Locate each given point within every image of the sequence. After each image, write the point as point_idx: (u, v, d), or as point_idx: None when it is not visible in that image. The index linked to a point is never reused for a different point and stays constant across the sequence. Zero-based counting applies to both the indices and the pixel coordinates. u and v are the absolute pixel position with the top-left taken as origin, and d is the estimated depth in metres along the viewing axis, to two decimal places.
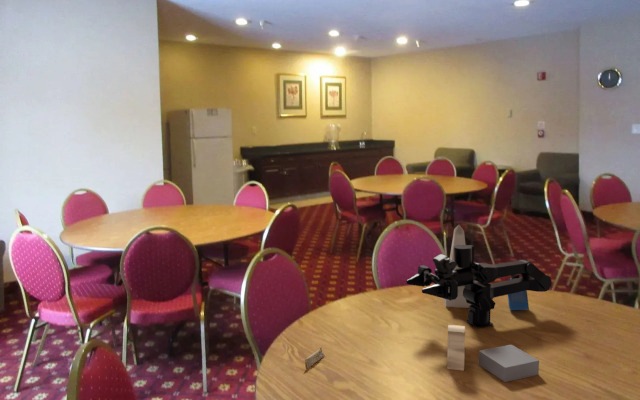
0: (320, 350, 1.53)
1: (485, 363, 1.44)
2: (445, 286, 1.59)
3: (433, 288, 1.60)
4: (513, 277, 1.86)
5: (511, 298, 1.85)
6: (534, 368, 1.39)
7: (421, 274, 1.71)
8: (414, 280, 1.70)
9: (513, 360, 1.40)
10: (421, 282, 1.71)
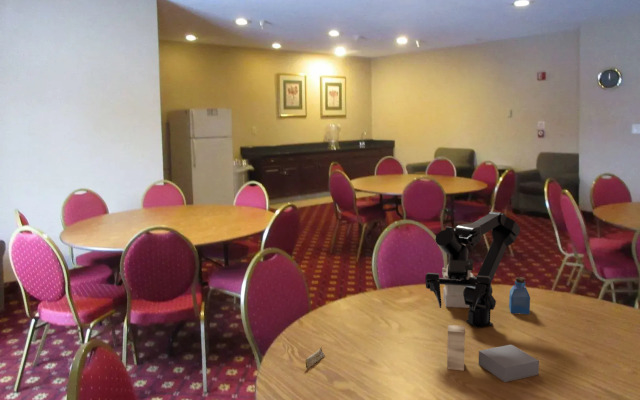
0: (320, 350, 1.53)
1: (485, 363, 1.44)
2: (483, 288, 1.53)
3: (477, 299, 1.52)
4: (518, 281, 1.84)
5: (513, 302, 1.84)
6: (534, 368, 1.39)
7: (439, 286, 1.56)
8: (440, 298, 1.55)
9: (513, 360, 1.40)
10: None
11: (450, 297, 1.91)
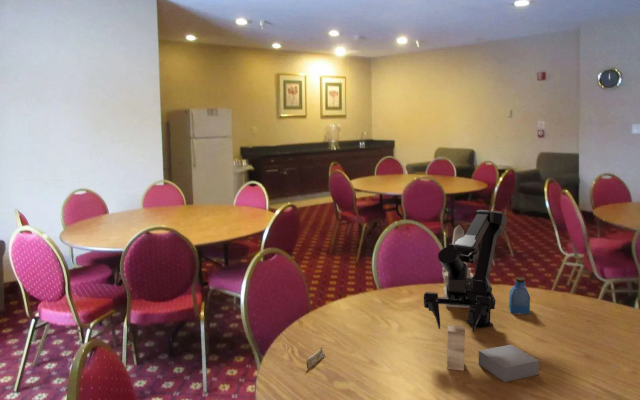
0: (321, 350, 1.53)
1: (485, 363, 1.44)
2: (484, 308, 1.48)
3: (477, 320, 1.47)
4: (518, 281, 1.84)
5: (513, 302, 1.84)
6: (534, 368, 1.39)
7: (438, 306, 1.51)
8: (439, 318, 1.50)
9: (513, 360, 1.40)
10: None
11: None
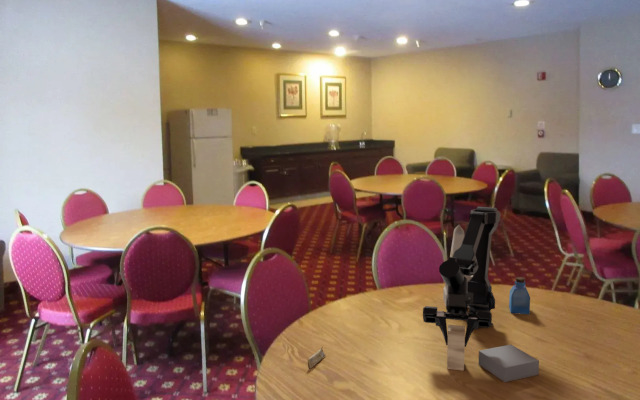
0: (321, 350, 1.53)
1: (485, 363, 1.44)
2: (476, 323, 1.45)
3: (469, 334, 1.44)
4: (518, 281, 1.84)
5: (513, 302, 1.84)
6: (534, 368, 1.39)
7: None
8: None
9: (513, 360, 1.40)
10: None
11: None
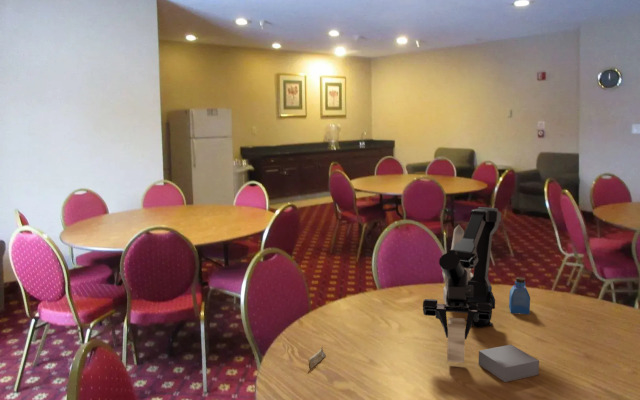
0: (321, 350, 1.53)
1: (485, 363, 1.44)
2: (476, 315, 1.45)
3: (469, 327, 1.44)
4: (518, 281, 1.84)
5: (513, 302, 1.84)
6: (534, 368, 1.39)
7: None
8: (447, 327, 1.46)
9: (513, 360, 1.40)
10: None
11: None
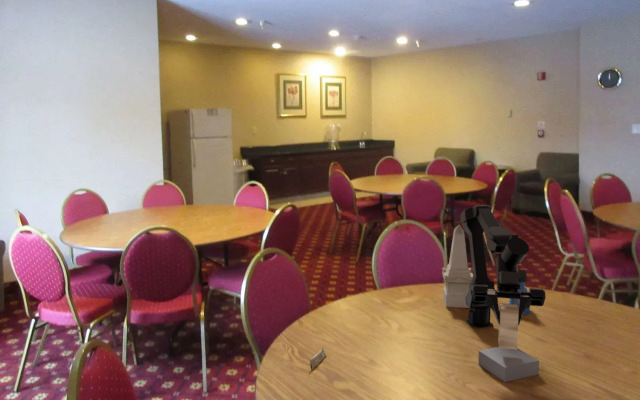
0: (322, 350, 1.53)
1: (485, 363, 1.44)
2: (529, 301, 1.41)
3: (522, 313, 1.41)
4: None
5: (513, 302, 1.84)
6: (534, 368, 1.39)
7: (497, 300, 1.43)
8: None
9: (513, 360, 1.40)
10: None
11: (450, 297, 1.91)
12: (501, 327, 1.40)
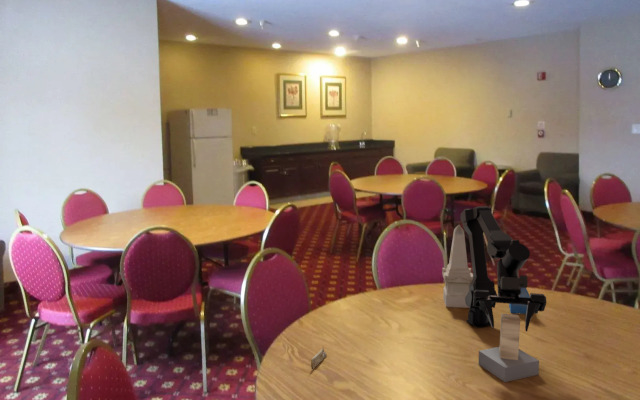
0: (322, 350, 1.53)
1: (485, 363, 1.44)
2: (537, 307, 1.41)
3: (530, 318, 1.40)
4: None
5: None
6: (534, 368, 1.39)
7: (491, 305, 1.44)
8: None
9: (513, 360, 1.40)
10: None
11: (450, 297, 1.91)
12: (502, 337, 1.40)
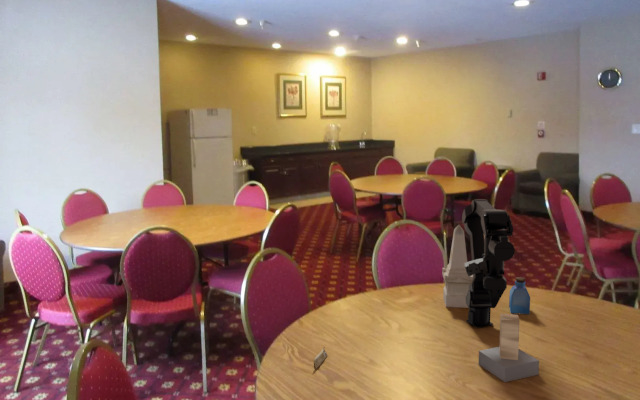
0: (323, 350, 1.53)
1: (485, 363, 1.44)
2: None
3: (492, 297, 1.53)
4: (518, 281, 1.84)
5: (513, 302, 1.84)
6: (534, 368, 1.39)
7: None
8: None
9: (513, 360, 1.40)
10: None
11: (450, 297, 1.91)
12: (502, 338, 1.40)
